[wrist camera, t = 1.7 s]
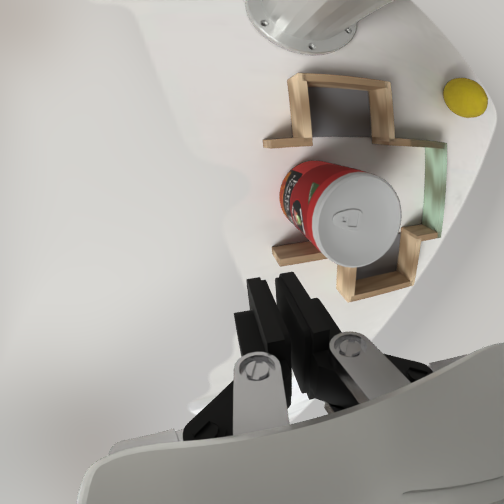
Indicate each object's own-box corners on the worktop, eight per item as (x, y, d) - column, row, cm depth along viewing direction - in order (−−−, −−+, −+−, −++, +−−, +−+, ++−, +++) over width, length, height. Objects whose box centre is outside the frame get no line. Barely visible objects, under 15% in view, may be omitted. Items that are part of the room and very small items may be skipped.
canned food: (271, 166, 28) (308, 182, 18) (340, 154, 29) (401, 166, 19) (283, 234, 31) (319, 280, 21) (346, 219, 32) (401, 255, 22)
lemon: (460, 104, 28) (500, 107, 21) (445, 123, 29) (487, 127, 21) (443, 73, 26) (484, 70, 18) (426, 90, 27) (470, 88, 19)
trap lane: (256, 80, 24) (263, 73, 21) (426, 95, 27) (443, 94, 24) (275, 300, 34) (282, 316, 31) (419, 268, 37) (433, 279, 34)
